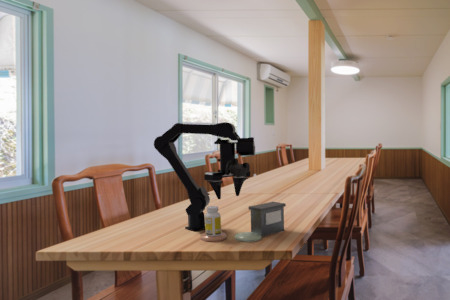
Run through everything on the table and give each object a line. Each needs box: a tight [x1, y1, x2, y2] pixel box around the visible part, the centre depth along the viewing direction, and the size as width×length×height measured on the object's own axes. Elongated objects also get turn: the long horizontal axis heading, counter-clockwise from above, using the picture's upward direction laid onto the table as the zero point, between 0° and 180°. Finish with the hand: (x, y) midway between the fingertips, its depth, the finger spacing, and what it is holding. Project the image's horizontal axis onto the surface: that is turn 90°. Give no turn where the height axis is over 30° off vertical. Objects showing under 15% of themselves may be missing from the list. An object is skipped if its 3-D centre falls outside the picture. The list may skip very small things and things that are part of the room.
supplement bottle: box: [204, 205, 222, 237], centre depth 129 cm, size 5×5×10 cm
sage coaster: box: [234, 231, 262, 243], centre depth 127 cm, size 9×9×1 cm
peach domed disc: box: [199, 231, 227, 243], centre depth 129 cm, size 9×9×1 cm
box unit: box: [248, 201, 287, 238], centre depth 134 cm, size 6×13×10 cm, turn 131°
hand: (228, 197), depth 140 cm, fingers open, 9 cm apart
